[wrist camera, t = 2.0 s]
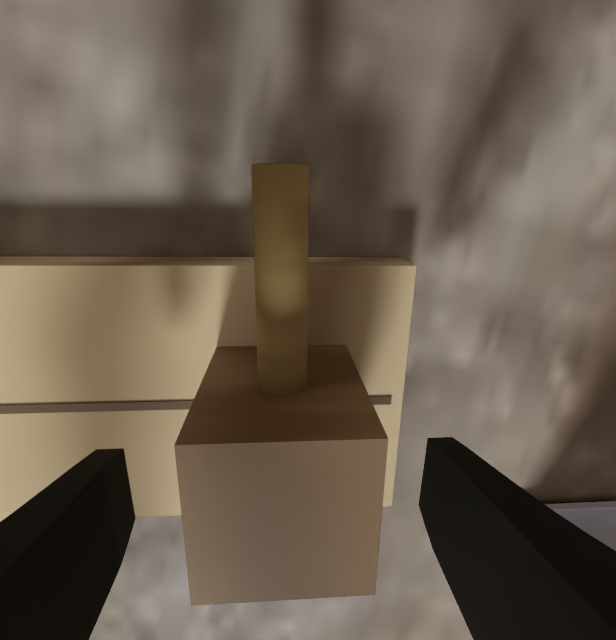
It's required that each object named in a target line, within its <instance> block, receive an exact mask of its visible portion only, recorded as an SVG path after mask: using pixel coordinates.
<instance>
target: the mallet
mask: <svg viewBox="0 0 616 640" xmlns="http://www.w3.org/2000/svg"><path fill="white" fill-rule="evenodd" d="M252 197H253V231H254V265H255V299H256V333H257V346H221V347H216V349H215V352H214V354H213V356H212V359H211V361H210V363H209V366H208V368H207V370H206V373H205V375H204V377H203V379H202V382H201V384H200V386H199V389H198V391H197V393H196V396H195V398H194V400H193V403H192V405H191V407H190V410H189V412H188V414H187V417H186V419H185V421H184V424H183V426H182V428H181V430H180V433H179V435H178V437H177V440H176V442H175V444H174V449H175V458H176V468H177V477H178V486H179V496H180V505H181V515H182V524H183V534H184V543H185V553H186V562H187V571H188V581H189V590H190V600H191V606H192V605H209V604H226V603H243V602H260V601H277V600H294V599H311V598H328V597H346V596H363V595H375V590H376V579H377V567H378V555H379V543H380V531H381V520H382V508H383V496H384V484H385V472H386V461H387V449H388V437H387V435H386V432H385V430H384V428H383V426H382V423H381V421H380V419H379V417H378V415H377V412H376V410H375V408H374V406H373V404H372V401H371V399H370V397H369V395H368V392H367V390H366V388H365V386H364V384H363V381H362V379H361V377H360V375H359V373H358V370H357V368H356V366H355V364H354V361H353V359H352V357H351V355H350V353H349V350H348V348H347V346H346V345H307V332H308V248H309V165H303V164H290V163H260V164H252Z"/></svg>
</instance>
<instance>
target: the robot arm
mask: <svg viewBox="0 0 616 640" xmlns="http://www.w3.org/2000/svg"><path fill="white" fill-rule="evenodd" d="M419 507H420V510H421V513H422V517H423V520H424V523H425V527H426V530H427V533H428V536H429V539H430V542H431V545H432V548H433V550H434V552H435V555H436V557H437V559H438V561H439V564H440V566H441V568H442V570H443V573H444V575H445V577H446V579H447V582H448V584H449V586H450V588H451V591H452V593H453V595H454V597H455V599H456V602H457V604H458V606H459V608H460V611H461V613H462V615H463V617H464V619H465V622H466V624H467V626H468V628H469V630H470V633H471V635H472V637H473V639H474V640H616V501H606V502H583V503H560V504H543V503H542V502H540V501H539V500H537V499H536V498H535V497H533V496H532V495H530V494H529V493H528V492H526V491H525V490H524V489H522V488H521V487H519V486H518V485H517V484H515V483H514V482H513V481H511V480H510V479H508V478H507V477H506V476H504V475H503V474H502V473H500V472H499V471H498V470H496V469H495V468H494V467H492V466H491V465H490V464H488V463H487V462H486V461H484V460H483V459H482V458H480V457H479V456H478V455H476V454H475V453H474V452H472V451H471V450H470V449H468V448H467V447H465V446H464V445H463V444H461V443H460V442H458V441H457V440H455V439H454V438H452V437H445V438H428V441H427V448H426V455H425V463H424V470H423V478H422V485H421V492H420V500H419ZM134 521H135V512H134V506H133V501H132V495H131V489H130V483H129V477H128V471H127V465H126V459H125V453H124V448H120V449H96V450H95V451H93V452H92V453H90V454H89V455H88V456H86V457H85V458H84V459H82V460H81V461H80V462H78V463H77V464H76V465H74V466H73V467H72V468H70V469H69V470H68V471H66V472H65V473H64V474H63V475H61V476H60V477H59V478H57V479H56V480H55V481H54V482H52V483H51V484H50V485H48V486H47V487H46V488H44V489H43V490H42V491H41V492H39V493H38V494H37V495H35V496H34V497H33V498H31V499H30V500H29V501H27V502H26V503H25V504H23V505H22V506H21V507H19V508H18V509H17V510H16V511H14V512H13V513H12V514H10V515H9V516H8V517H6V518H5V519H4V520H2V521H1V522H0V640H89V638H90V635H91V633H92V631H93V628H94V626H95V624H96V622H97V619H98V617H99V615H100V613H101V610H102V608H103V606H104V603H105V601H106V599H107V596H108V594H109V592H110V589H111V587H112V585H113V583H114V580H115V578H116V575H117V573H118V571H119V568H120V566H121V563H122V560H123V557H124V554H125V551H126V548H127V545H128V541H129V538H130V535H131V531H132V528H133V524H134Z"/></svg>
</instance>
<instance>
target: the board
mask: <svg viewBox="0 0 616 640" xmlns="http://www.w3.org/2000/svg"><path fill="white" fill-rule="evenodd" d="M416 267H417V266H416V265H414V264H413V263H411V262H409V261H407V260H406V259H404V258H402V257H308V332H307V345H346V346H347V348H348V350H349V353H350V355H351V357H352V359H353V361H354V364H355V366H356V368H357V370H358V373H359V375H360V377H361V379H362V381H363V384H364V386H365V388H366V390H367V392H368V395H369V397H370V399H371V401H372V404H373V406H374V408H375V410H376V412H377V415H378V417H379V419H380V421H381V423H382V426H383V428H384V430H385V432H386V435H387V437H388V449H387V461H386V472H385V484H384V496H383V506H392V496H393V487H394V477H395V468H396V458H397V449H398V439H399V430H400V420H401V410H402V401H403V391H404V382H405V372H406V363H407V353H408V344H409V334H410V325H411V315H412V306H413V296H414V286H415V277H416ZM221 346H257V333H256V299H255V265H254V257H57V256H0V522H1V521H2V520H4V519H5V518H6V517H8V516H9V515H10V514H12V513H13V512H14V511H16V510H17V509H18V508H19V507H21V506H22V505H23V504H25V503H26V502H27V501H29V500H30V499H31V498H33V497H34V496H35V495H37V494H38V493H39V492H41V491H42V490H43V489H44V488H46V487H47V486H48V485H50V484H51V483H52V482H54V481H55V480H56V479H57V478H59V477H60V476H61V475H63V474H64V473H65V472H66V471H68V470H69V469H70V468H72V467H73V466H74V465H76V464H77V463H78V462H80V461H81V460H82V459H84V458H85V457H86V456H88V455H89V454H90V453H92V452H93V451H95V450H96V449H120V448H124V453H125V459H126V465H127V471H128V477H129V483H130V489H131V495H132V501H133V506H134V512H135V517H149V516H173V515H181V505H180V496H179V486H178V477H177V468H176V458H175V449H174V444H175V442H176V440H177V437H178V435H179V433H180V430H181V428H182V426H183V424H184V421H185V419H186V417H187V414H188V412H189V410H190V407H191V405H192V403H193V400H194V398H195V396H196V393H197V391H198V389H199V386H200V384H201V382H202V379H203V377H204V375H205V373H206V370H207V368H208V366H209V363H210V361H211V359H212V356H213V354H214V352H215V349H216V347H221Z"/></svg>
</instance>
